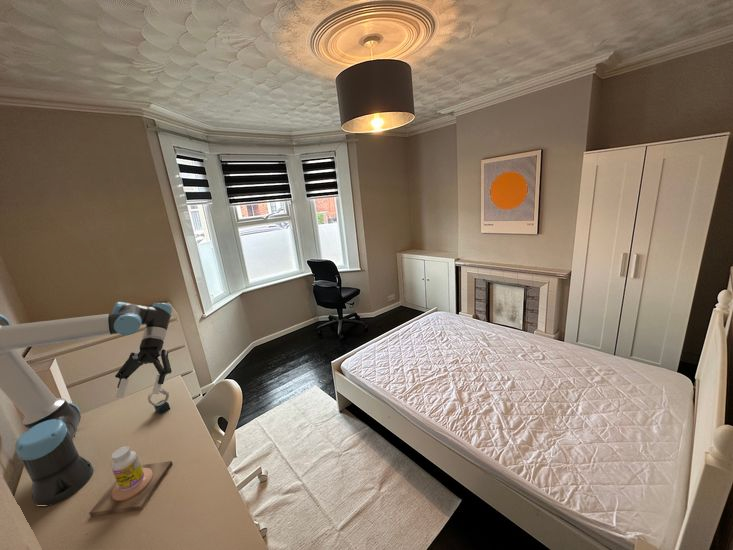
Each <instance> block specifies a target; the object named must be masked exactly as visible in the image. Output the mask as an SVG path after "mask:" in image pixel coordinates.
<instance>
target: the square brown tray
mask: <svg viewBox="0 0 733 550" xmlns="http://www.w3.org/2000/svg"><path fill="white" fill-rule="evenodd" d="M172 466H173V462H172V460H169V461H162V462H161V461H160V462H154V463H148V464H147V463H146V464H141V467H142V468H150V469H151V470H152V472H153V478H152V480H151V482H150V483H149V484H148V486H147V487H146V488H145V489H144V490H142V491H141V492H140V493H139V494H137V495H135V496H134V497H132V498H130V499H127V500H124V501H115V500H114V499H113V497H112V490H113V489H114V487H115V486H116V484H117V480H116V479H115V481H114V482H113V484H112V485H111V486H110V487H109V488H108V489H107V491H106V492H105V493H104V494H103V496H102V497H101V498H99V501H97V503H96V504H95V505H94V506H93V507H92V509H91V510H90V511H89V512H88V514H89V516H90V517H97V516H105V515H113V514H118V513H125V512H126V513H127V512H133V511H140V510H143V509H145V506H146V505H147V503H148V501H149V500H150V498H151V497H152V496H153V495H154V492H155V491H156V490H157V488H158V487H159V485H160V484H161V483H162V482H163V479H164V478H165V477H166V475H167V474H168V472H169V470H170V469H171V468H172Z"/></svg>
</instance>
